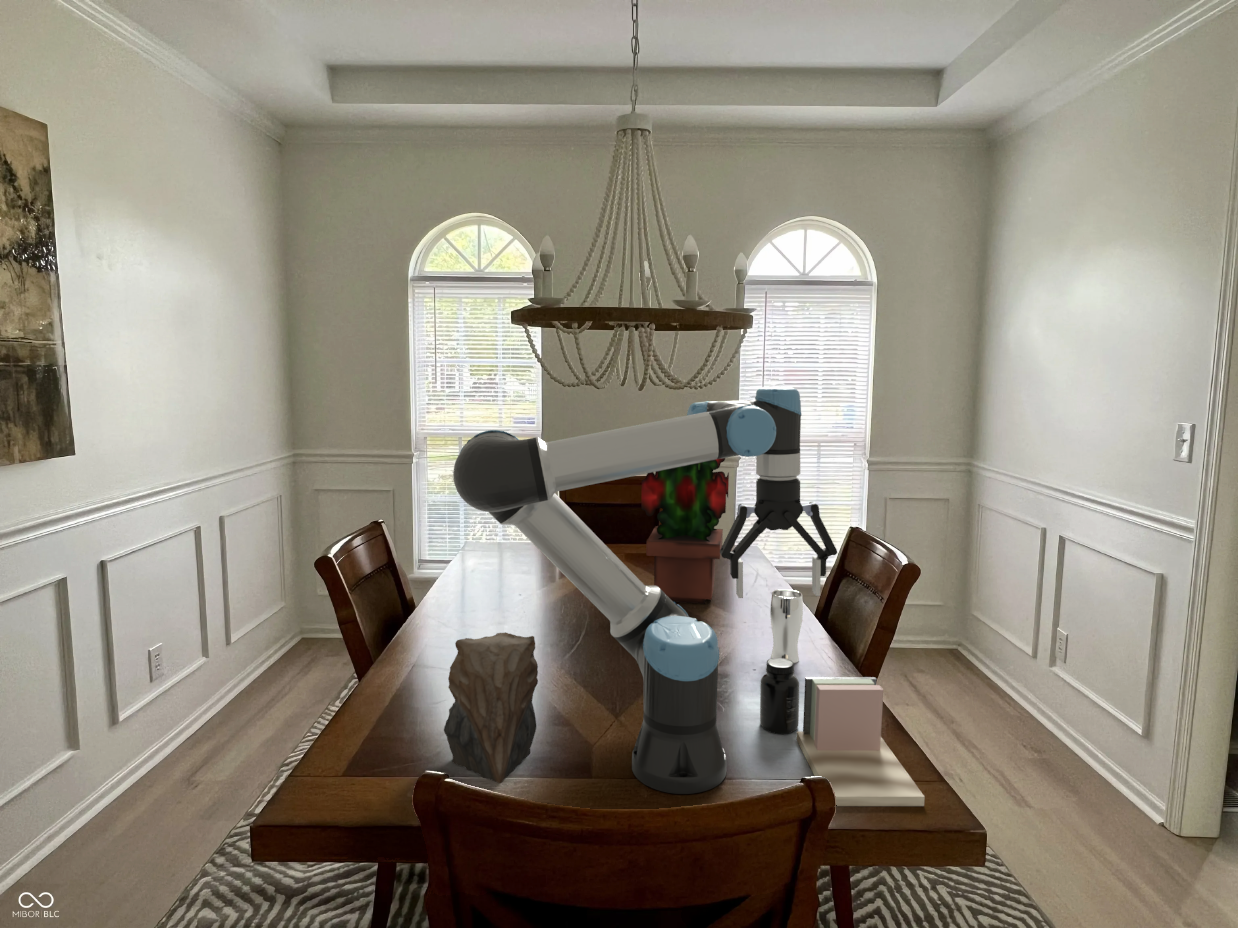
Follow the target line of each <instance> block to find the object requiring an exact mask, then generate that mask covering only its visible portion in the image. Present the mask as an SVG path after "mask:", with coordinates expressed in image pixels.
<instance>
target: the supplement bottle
mask: <svg viewBox="0 0 1238 928" xmlns="http://www.w3.org/2000/svg"><path fill="white" fill-rule="evenodd" d="M765 672H766V673H765V674H763V676H761V679H760V685H759V687H760V690H759V691H760V693H759V694H760V695H759V696H760V697H759V698H760V701H759V703H760V704H759V708H760V709H759V723H760V725H761V727H762V728H763V729H764V730H766V731H767V732H769V733H772V734H778V735H786V734H787V735H788V734H792V733H794V732H796V731H797V729H798V728H799V722H800V721H799V719H800V718H799V717H800V712H799V711H800V681H799V680H798V678H797V677H796V676H795V675H794V674H795V664H794V663H793V662H792V661H791V660H789V659H785V658H771V657H770V658H769V659H768V660H766V667H765Z"/></svg>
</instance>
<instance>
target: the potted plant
mask: <svg viewBox="0 0 1238 928" xmlns="http://www.w3.org/2000/svg"><path fill="white" fill-rule="evenodd" d="M725 460H726V458H722V459H715V460H710V461H705V462H700V463H695V464H690V465H685V466H680V467H675V468H671V469H666V470H661V471H656V472H651V473H646V475H645V478H644V479H642V480H641V504H640V505H641V508H640V510H641V511H644V512H645V515H646V516H647V517H652V516H654V514H655V511H656V510H658V509H662V510H661V511H659V512H658V513H657V516H656V518H657V520H658V522H659V523H660V524H659V525H657V526H656V525H655V526H654V528H653V530H652V531H651V533H650V535H649V536H648V538H647V539H646V541H645V542H646V546H645V547H646V548H645V550H646V554H645V556H648V557H653V558H654V559H653V560H654V562H653V566H654V568H653V571H654V572H653V576H654V577H653V580H654V581H653V586H658V587H659V588H660V589H661V590H662V591H663V592H664V593H665V594H666V595H667V596H668V597H669V598H670V599H671V600H672V601H673V602H675V603H684V604H686V603H687V604H699V605H702V604H703V605H705V604H706V600H713V594H714V588H715V578H716V577H715V574H716V571H715V570H716V560H720V559H721V554H720V549H721V547H722V545H723V542H724V541H723V537H724V536H723V533H724V529H723V528H715V527H716V526H718V525H719V522H720V519H721V518H722V516H723V514H726V511H727V510H726V509H727V506H726V505H727V498H729V486H730V485H729V481H730V480H729V477H730V472H727V474H726V473H725V472H724V471H723V470H722V471H716V470H717V469H719V468H720V467H721V464H722V463H723V462H725ZM726 475H727V476H726Z"/></svg>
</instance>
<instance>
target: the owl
mask: <svg viewBox="0 0 1238 928" xmlns="http://www.w3.org/2000/svg"><path fill="white" fill-rule="evenodd" d="M454 643H455V649H456V650H457V653H456V656H455V657H454V660H453V661H452V663H451V665H450V667H449V672H448V673H449V675H448V689H449V691H450V693H451V695H452V697H453V699H454V702H453V703H452V705H451V706H450V708H449V709H448V716H447V720H446V721H445V725H444V728H443V732H444V734H445V736H446V740H447V742H448V745H449V750H450V752H451V754H452V760H451V761H452V763H453V764H454V765H457V766H459V767H464V768H465V769H466V771H471V772H473V773H475V774H478V775H480V777H482V778H484V779H488V780H492V781H493V782H495V783H498V784H502V783H503V781H504V780H505V779H506V778H507V777H508V776H509V775H510V774H511V773H513V772H514V770H515V769H516V767H517V766H519V765H521V764H522V762H523V760H524V759H525V758H526V757H528V756H529V755H530V754H531V747H532V745H533V741H534V739H535V736H536V735H535V734H536V732H537V718H536V713H535V708H534V704H533V699H534V692H535V689H536V687H537V685H538V683H539V679H538V675H539V672H538V671H539V670H538V668H539V666H538V665H539V663H538V661H537V659H536V658H535V655H534V654H535V653H534V652H535V650H536V641H535V636H533V635H531V636H530V635H529V636H521V635H516V634H512V633H508V632H497V633H496V634H495V635H491V636H483V637H480V638H471V637H470V638H469V637H468V638H467V637H465V638H461V639H457V640H456V641H455V642H454Z"/></svg>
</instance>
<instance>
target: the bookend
mask: <svg viewBox="0 0 1238 928" xmlns="http://www.w3.org/2000/svg"><path fill="white" fill-rule="evenodd" d="M812 679H871V680H872V681H873V682H874V685H877V680H878V679H877V678H876V677H874V676H872V677H871V676H862V677H861V676H856V677H855V676H805V677H804V693H803V694H804V696H803V697H804V699H803V719H802V720H803V721H802V723H803V724H802V725H803V727H802V731H803V733H804V735H810V721H811V697H812Z"/></svg>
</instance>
